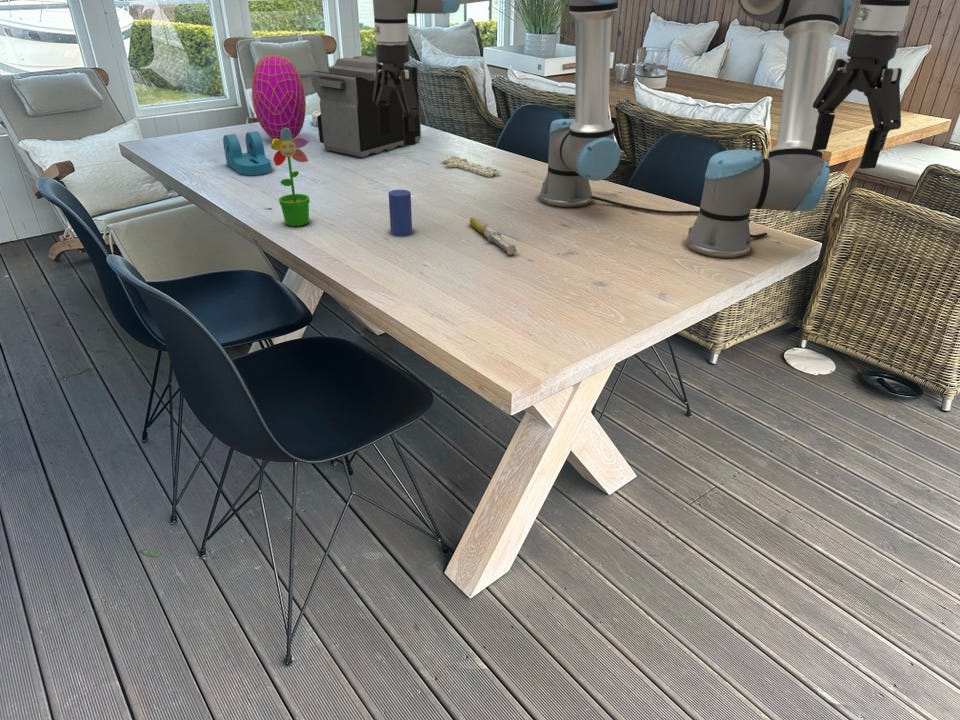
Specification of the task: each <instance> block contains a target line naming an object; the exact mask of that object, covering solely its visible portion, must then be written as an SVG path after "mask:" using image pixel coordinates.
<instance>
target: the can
mask: <svg viewBox="0 0 960 720" xmlns="http://www.w3.org/2000/svg"><path fill="white" fill-rule="evenodd" d="M387 194H388V209H389V225H390V226H389V227H390V234H391V235H392V236H395V237H405V236H410V235H412V234H413V217H412V215H413V214H412V192H411V190H407V189H393V190H389V191H388V193H387Z"/></svg>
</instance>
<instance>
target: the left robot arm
mask: <svg viewBox="0 0 960 720" xmlns="http://www.w3.org/2000/svg"><path fill="white" fill-rule="evenodd" d="M489 1H490V2H491V0H372V7H373V20H374V21H373V24H374V27H373V29H372V31H373V32H374V39H375V42H376V45H375V57H376V60H377V61H378V62H379V63H377V64H376V78H375V84H374V91H373V102H376V105H377V106H378V123H379V134H380V135H381V134H389V133H390V119H389V106H385V105H389V102H388V99H389V96H390V93H391V90H392V88H393V90H394V91H396V93H397V95H398V98H399V101H400V104H401V107H402V109H403V112H404V113H403V115H402V117H403V137H404V146H403V147H408V146H415V145H416V143H417V142H415V116H416V115H419V114H420V115H421V109H420V110H419V106H418V102H417V98H416V93H415V89H414V85H413V81H412V71H411V69H407V70H405V69H404V66H405V63H408V62H409V61H410V46H409V44H407V43H408V42H409V40H410V38H409V37H410V36H409V18H408V16H409V14H411V15H416V14H421V15H422V14H427V15H428V14H435V15H436V14H437V15H439V14H440V15H446V14H456V13H457V12H458V11H459V9H460V6H461V5H468V4H474V3H475V4H476V3H480V2H481V3H483V2H489ZM618 10H619V0H568V11H569V14H570V15H571V16H572V17H573V18H574V19H575V57H574V59H575V63H574V64H575V65H574V66H575V73H574V74H575V78H574V79H575V82H574V85H575V86H574V87H575V88H574V89H575V105H574V107H575V110H574V112H575V113H574V115H575V116H574V118H560V119H554V120H552V122H551V123H550V127H549V128H550V129H549V133H548V135H549V141H548V142H549V143H548V156H547V158H548V159H547V173H546V176H545V178H544V181H543V182H542V185H541V186H542V187H541V189H540V192H539V200H540V202H542V203H543V204H546V205H549V206H553V207H558V208H559V207H560V208H580V207H584V206H588V205H589V204H591V203H592V200H596V201H600V202H604V203H608V204H611V205H615V206H619V207H623V208H627V209H631V210H637V211H643V212H648V213H655V214H656V213H657V214H668V215H687V214H688V215H689V214H691V215H693V214H694V215H699V211H700V210H662V209H653V208H647V207H641V206H636V205H632V204H631V205H630V204H626V203H621V202H618V201H614V200H610V199H607V198H603V197H599V196H594V195H593V193H592V188H591V184H590V181H593V182H596V181H597V182H598V181H602V180H605V179H606V178H608V177H610V176H611V175H612V173H613V172H614V171H616V169H617V168H618V166H619V163H620V162H621V155H622V154H621V148H620V146H619V144H618V143H617V141H616V140H615V124H614V123H613V122H612V120H610V119H609V112H610V111H609V108H610V76H611V75H610V74H611V73H610V72H611V43H612V42H611V40H612V18H613V15H614V14H615V13H616V12H617V11H618ZM406 80H407V81H406ZM377 95H378V96H377ZM748 222H749V223H751V220H750V219H749V220H748Z"/></svg>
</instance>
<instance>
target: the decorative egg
mask: <svg viewBox="0 0 960 720" xmlns="http://www.w3.org/2000/svg"><path fill="white" fill-rule="evenodd" d="M253 70H254V71H253V73H252V77H251V101H252V107H253V110H254V114H255V116H256V118H257V121H258V123H259V125H260V127H261V128H262V130H263V131H264V133H266V135H267V136H268V137H270V138H271V139H272V140H273V139H279V140H281V136H280V134H281V131H282V130H283V129H284V128H288V129H289V130H290V131H291V134H292V139H293V138H295V137H298V136H299V134H301V131H302V129H303V127H304V123H305V118H306V104H307V103H306V102H307V101H306V99H307V97H306V93H305V88H304V84H303V81H302V77H301V75H300V73H299V71H298V69H297V67H296V66H295V65H294V63H293V62H292V61H291V60H290V59H288V58H287V57H285V56H282V55H280V54H268V55H265V56H262V57H261V58H260V59H259V60H258V61H257V62H256V65H255V68H254V69H253ZM281 141H282V140H281Z"/></svg>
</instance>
